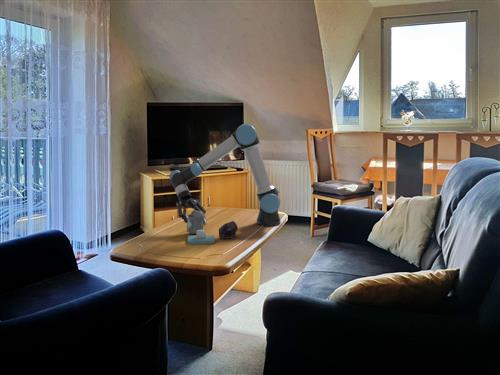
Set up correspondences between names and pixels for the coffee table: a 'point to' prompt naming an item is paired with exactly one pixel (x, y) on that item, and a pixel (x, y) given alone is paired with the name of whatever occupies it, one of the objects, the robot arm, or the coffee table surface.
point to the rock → (228, 230)
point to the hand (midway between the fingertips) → (198, 225)
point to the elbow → (195, 221)
